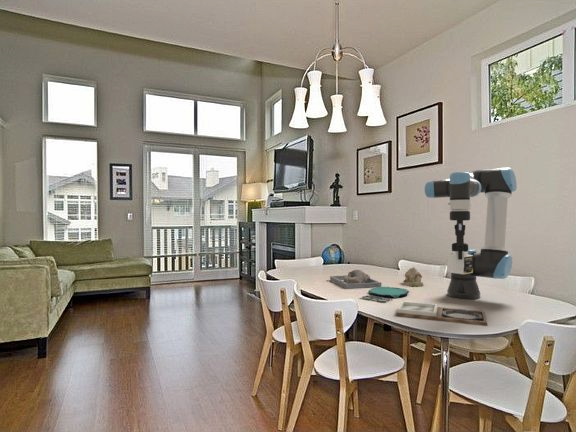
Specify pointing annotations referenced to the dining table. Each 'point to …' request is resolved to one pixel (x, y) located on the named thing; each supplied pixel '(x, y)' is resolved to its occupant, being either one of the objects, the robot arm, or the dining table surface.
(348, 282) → the grey rounded lump
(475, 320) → the board
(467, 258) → the medicine bottle
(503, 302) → the dining table surface
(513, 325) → the dining table surface
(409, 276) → the ceramic model
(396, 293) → the cutlery set
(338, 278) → the grey rectangular tray
